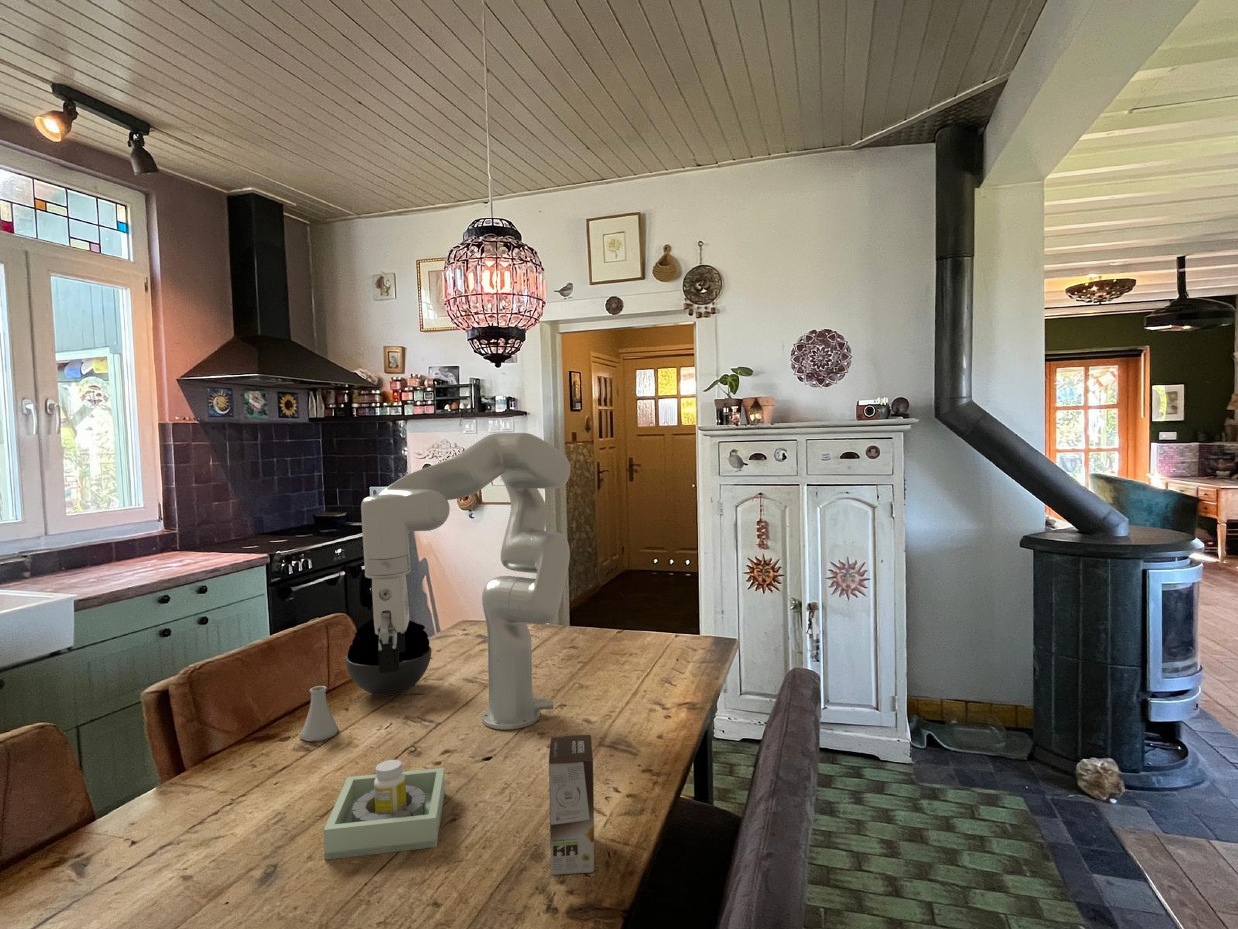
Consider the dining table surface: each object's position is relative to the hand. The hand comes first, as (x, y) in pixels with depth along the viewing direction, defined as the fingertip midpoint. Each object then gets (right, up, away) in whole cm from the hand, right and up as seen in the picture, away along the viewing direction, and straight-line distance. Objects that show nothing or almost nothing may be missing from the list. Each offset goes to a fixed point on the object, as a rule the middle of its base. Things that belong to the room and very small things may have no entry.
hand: (393, 661), depth 119 cm
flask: (-24, -23, +24) cm, 40 cm away
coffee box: (+33, -23, -19) cm, 45 cm away
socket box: (+3, -23, -10) cm, 25 cm away
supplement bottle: (+3, -22, -10) cm, 25 cm away
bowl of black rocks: (-17, -22, +47) cm, 55 cm away
